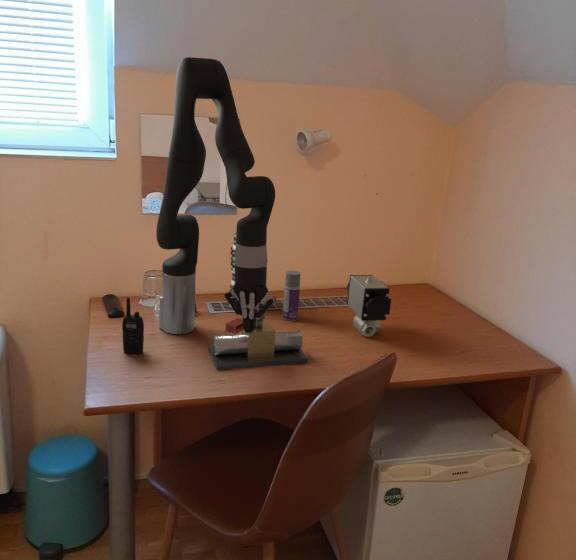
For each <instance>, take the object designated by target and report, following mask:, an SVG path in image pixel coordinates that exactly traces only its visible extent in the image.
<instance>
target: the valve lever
mask: <svg viewBox="0 0 576 560" xmlns="http://www.w3.org/2000/svg"><path fill="white" fill-rule="evenodd" d="M260 309H261V308H258V311H259V310H260ZM265 319H266V312H265V313H264V314H263V315H262V316H261V317H260V318H256V321H257V320H263V321H264V320H265ZM243 330H244V329H243V317H241V318H239V317H236V318H235V319H231V321H228V322H226V323H225V330H224V331H225V333H226V332H227V333H230V334H232V335H234V334H240V333H242V331H243Z"/></svg>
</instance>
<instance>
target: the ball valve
mask: <svg viewBox="0 0 576 560" xmlns="http://www.w3.org/2000/svg"><path fill="white" fill-rule="evenodd" d="M346 291H347V298H346V299H347V300H346V305H347V306H348V307H349V309H350V310H352V311H353V312H354V314H356V315H355V316H354V318H352V319H353V320H352V322H353V326H354V328H355V329H357V330H358V332H359V333H360V334H361V335H362V336H364V337H366V338H367V337H368V338H369V337H370V338H371V337H373V336H374V335H375V333H376V332H380V330H381V327H382V325H381V321H386V318H387V315H390V312H391V304H392V298H390V297H389V296H390V288H389V287H388V286H387V283H385V282H384V280H383V281H382V280H379V279H378V278H376V277H375V276H374V275H373V274H350V275H349V280H348V284H347V286H346Z"/></svg>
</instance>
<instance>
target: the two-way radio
mask: <svg viewBox="0 0 576 560" xmlns="http://www.w3.org/2000/svg"><path fill="white" fill-rule="evenodd" d="M130 299H131V298H130V297H126V315H125V316H123V318H122V319H123V320H122V321H121V323H122V324H121V325H122V327H121V328H122V347H123V348H122V350H123V352H124V353H126V354H136V355H137V354H138V355H139V354H142V353H143V352H144V342H145V341H144V338H145V337H144V334H145V333H144V331H145V326H144V325H145V323H144V320H143V317H142V316H141V315H140V313H139V311H135V312H134V314H131V300H130Z"/></svg>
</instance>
